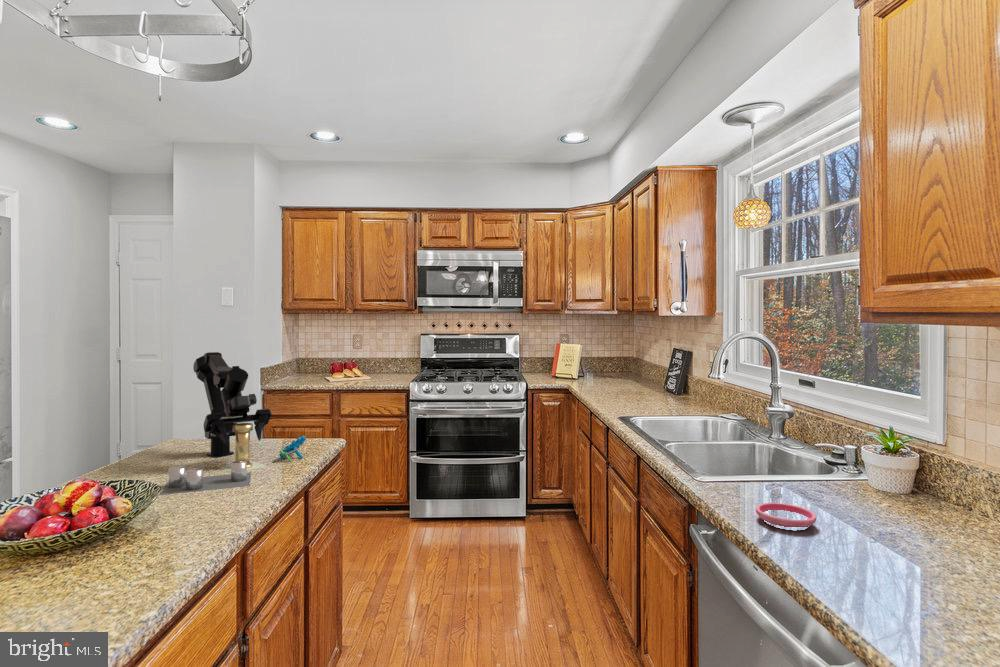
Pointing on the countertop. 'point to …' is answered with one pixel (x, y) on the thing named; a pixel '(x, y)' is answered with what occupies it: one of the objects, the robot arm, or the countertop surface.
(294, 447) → the blue and green figurine
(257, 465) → the pad
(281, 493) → the countertop surface
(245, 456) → the brass post
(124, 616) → the countertop surface
